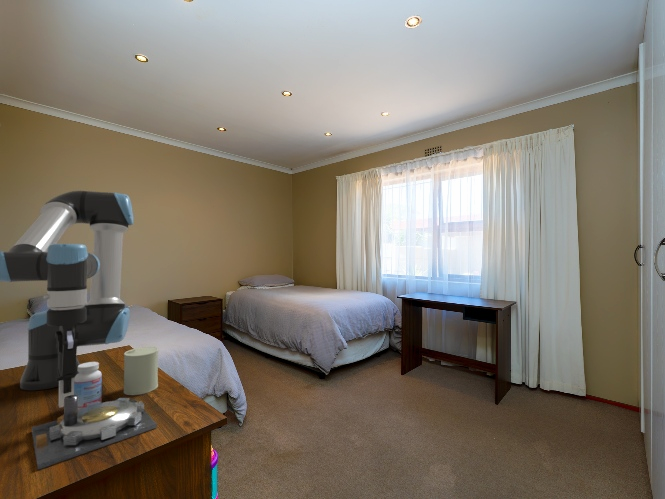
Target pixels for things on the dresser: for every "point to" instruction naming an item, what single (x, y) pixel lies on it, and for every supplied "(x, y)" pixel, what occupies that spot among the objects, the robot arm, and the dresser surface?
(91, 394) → the pill bottle
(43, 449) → the base plate
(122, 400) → the sprocket
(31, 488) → the dresser surface
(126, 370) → the pale green cylinder
